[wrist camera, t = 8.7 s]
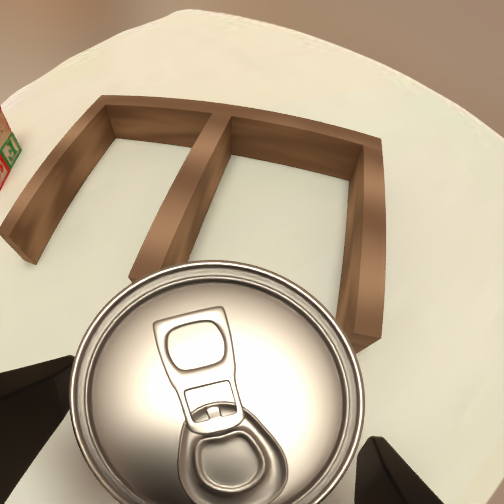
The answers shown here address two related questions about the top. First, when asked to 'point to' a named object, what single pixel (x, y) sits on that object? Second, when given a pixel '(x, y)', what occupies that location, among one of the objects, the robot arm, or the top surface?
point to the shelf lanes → (207, 179)
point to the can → (216, 390)
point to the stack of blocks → (7, 149)
